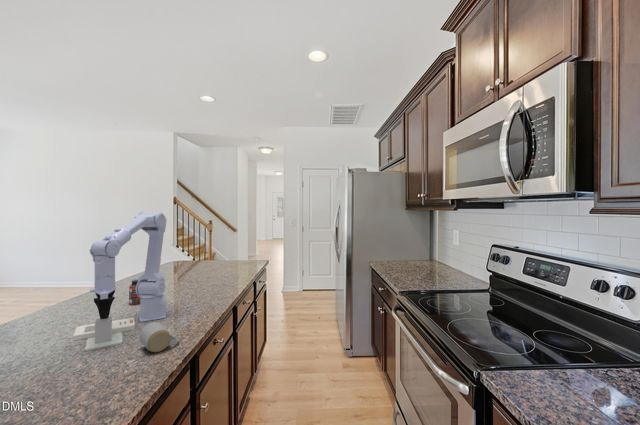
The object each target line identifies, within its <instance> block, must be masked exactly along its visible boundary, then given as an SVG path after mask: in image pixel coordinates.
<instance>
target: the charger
mask: <svg viewBox="0 0 640 425" xmlns="http://www.w3.org/2000/svg"><path fill="white" fill-rule="evenodd" d="M112 321H113V316H109V317H108V318H107V319H100V317H99V318H95V323H94V324H95V330H94V331H95V344H97V343H102V342H107V341H112Z"/></svg>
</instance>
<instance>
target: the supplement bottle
mask: <svg viewBox="0 0 640 425" xmlns="http://www.w3.org/2000/svg"><path fill="white" fill-rule="evenodd" d="M138 279H139V278H137V279H132V280H131V284H130V285H129V286H128V287H129V291H128V292H129V293H128V304H129V305H130V306H137V304H138V305H141V298H139V295H137V293H136V285H137V283H138Z"/></svg>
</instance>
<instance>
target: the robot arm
mask: <svg viewBox="0 0 640 425" xmlns="http://www.w3.org/2000/svg"><path fill="white" fill-rule="evenodd" d="M166 227H167V218H166V216H165V214H164V213H163V212H143V211H142V212H139V213H137V214H136V215H134V219H133V220H132V221H131V222H129V223H128V224H126V226H125V227H124V228H122V227H119V228H118V227H117V228H115V229H114V230H113V232H111V233H110V234H108V235H106V236H105V237H104V238H102V240H99V239H98V240H96V241H95V242H93V243H92V245H91V247H90V249H89V254H90V256H91V257H92V261H93V263H94V288H91V289H89V292H90V293H95V296H96V297H95V298H93V302H94V304H95V306H96V307H97V310H98V311H97V312H98V316H99V318H100V319H107V318H108V317H110V313H111V307H112V304H113V302H114V301H115V298H116V296H114V294H115V293H116V289H117V286H116V256H118V254H119V253H120V250H121V249H122V247H123V246H124V245H126V244H127V243H128V242H130V241H131V239H132V235H134V234H135V233H137V232H138V231H139V230H142V231H143V232H144V233H147V234H148V236H149V238H148V245H147V252H146V253H147V254H146V260H145V267H144V273H143V274H141V275H140V276H139V277H138V278H137V279H138V283H137V285H136V293H137V295H139V298H141V304H140V315H139V316H138V318H139V322H140V323H143V322H149V321H154V320H161V319H165V318H167V297H166V294H164V292H165V291H166V283H165V280H166V279H165V277H164V275H162V274H160V268H161V260H162V249H163V243H164V242H163V241H164V233H165V232H166Z"/></svg>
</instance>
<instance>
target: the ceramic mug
mask: <svg viewBox="0 0 640 425" xmlns="http://www.w3.org/2000/svg"><path fill="white" fill-rule="evenodd" d="M139 341H140V343H141V344H142V345H143V346H144V347H145V348H146V350H148V351H149V352H151V353H159V352H162V351H165V350H166V348H167V347H169V345H170V346H177V344H178V342H179V338H178V337H176V336H174V335H171V333H170V331H169V330H168V329H167V328H166V327H165V326H164V324H162V323H161V322H157V321H154V322H153V321H152V322H150V323H148V324H146V325H145V326H144V327H143V328H142V329H141V330H140V333H139Z"/></svg>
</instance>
